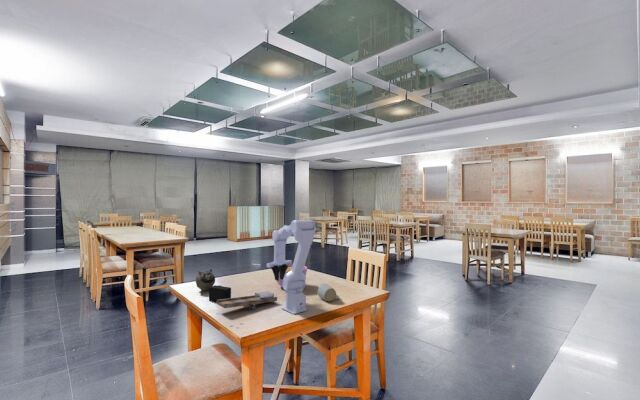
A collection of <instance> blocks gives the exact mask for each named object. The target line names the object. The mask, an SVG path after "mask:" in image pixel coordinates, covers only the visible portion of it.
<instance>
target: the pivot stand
mask: <svg viewBox="0 0 640 400" xmlns="http://www.w3.org/2000/svg"><path fill="white" fill-rule="evenodd" d="M242 307H244V308H246V309H247V310H249V311H251V312H253V311H256V304H253V305H245V306H242Z"/></svg>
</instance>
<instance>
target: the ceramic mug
mask: <svg viewBox="0 0 640 400" xmlns="http://www.w3.org/2000/svg"><path fill="white" fill-rule="evenodd" d="M317 295H318V297H319V298H321V299H322V300H323V301H325V302H330V301H331V302H333V301H334V300H335V299H336V300H339V299H340V296H339V295H337V290H335V288H333V287H332V286H330V285H329V284H327V283H322V284H319V286H318V288H317Z"/></svg>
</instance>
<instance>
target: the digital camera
mask: <svg viewBox="0 0 640 400" xmlns="http://www.w3.org/2000/svg"><path fill="white" fill-rule="evenodd" d="M228 298H232V287H230V286H229V287H228V286H222V285H215V284H214V285H213V286H212V287H209V293H208V300H209V301H208V302H214V303H217V300H219V299H228Z"/></svg>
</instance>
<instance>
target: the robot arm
mask: <svg viewBox="0 0 640 400" xmlns="http://www.w3.org/2000/svg"><path fill="white" fill-rule="evenodd" d="M316 231H317V227H316V223H315V221H314V220H313V219H301V220H299V219H297V220H296V219H294V220H292V221H291V223H290V224H289V225H287V224H284V225H283V227H281V228H279V229H277V230H275V229H274V230H273V231H272V233H271V234H272V237H271V238H272V240H273V245H274V246H273V261H270V262H267V263H266V268H269V269H271V271H272V273H273V276H274V280H275V281H276V280H277V281H278V280H279V271H280V279H282V280H283V281H282V285H283V287H282V289H283V290H284V291H285V306H283V307H282V308H281V309H282V310H284V311H286V312H289V313H291V314H292V315H297V314H300V313H302V312H306V311H307V310H308V309H307V308H306V307H307V305H306V304H307V297H306V295H305V293H303V291H304V289H305V287H306V279H307V277H306V276H305V274H304V273H303V269H304V266H306V262H307V259H308V256H309V252H310V249H311V245H312V240H314V237H315V234H316ZM292 235H293V237H294V239H295V241H296V242H297V243H298V245H297V250H296V252H295V255H294V260H291V259H288V260H287V259H286V244H287V240H288V238H290V237H291V236H292ZM287 264H293V266H292V270H291V271H290V272H288V273H287V274H286V275H285V272H286V270H287V268H288V266H287ZM278 266H279V267H278ZM284 275H285V278H284ZM283 278H284V279H283ZM277 281H276V282H277Z"/></svg>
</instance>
